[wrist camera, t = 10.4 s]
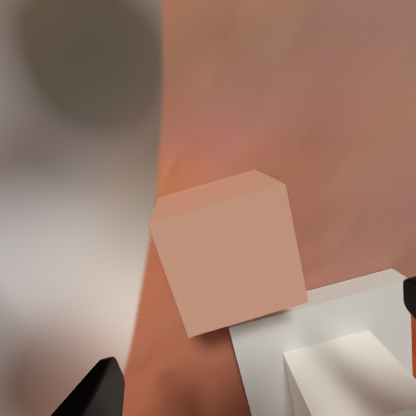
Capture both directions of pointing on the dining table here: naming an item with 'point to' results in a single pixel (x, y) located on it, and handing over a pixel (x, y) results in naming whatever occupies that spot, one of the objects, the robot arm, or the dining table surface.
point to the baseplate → (319, 333)
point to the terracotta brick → (229, 251)
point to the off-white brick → (349, 379)
